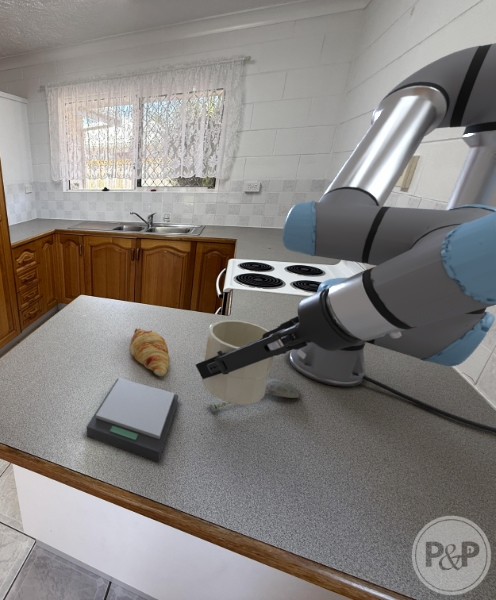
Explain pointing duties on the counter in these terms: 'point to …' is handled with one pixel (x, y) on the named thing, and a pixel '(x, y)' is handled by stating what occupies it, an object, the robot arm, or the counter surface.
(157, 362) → the croissant
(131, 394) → the scale
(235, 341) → the cream cylinder cup
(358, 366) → the robot arm
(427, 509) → the counter surface
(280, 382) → the soupspoon
